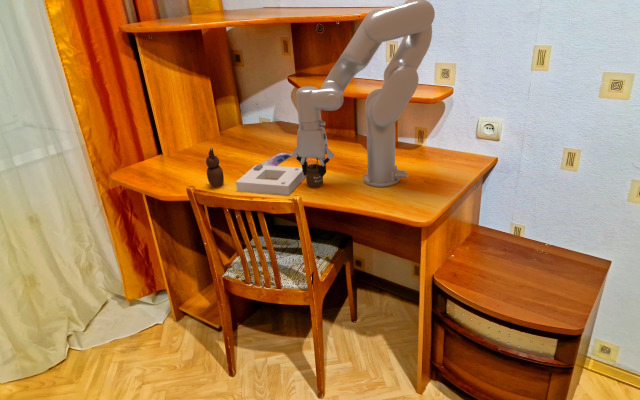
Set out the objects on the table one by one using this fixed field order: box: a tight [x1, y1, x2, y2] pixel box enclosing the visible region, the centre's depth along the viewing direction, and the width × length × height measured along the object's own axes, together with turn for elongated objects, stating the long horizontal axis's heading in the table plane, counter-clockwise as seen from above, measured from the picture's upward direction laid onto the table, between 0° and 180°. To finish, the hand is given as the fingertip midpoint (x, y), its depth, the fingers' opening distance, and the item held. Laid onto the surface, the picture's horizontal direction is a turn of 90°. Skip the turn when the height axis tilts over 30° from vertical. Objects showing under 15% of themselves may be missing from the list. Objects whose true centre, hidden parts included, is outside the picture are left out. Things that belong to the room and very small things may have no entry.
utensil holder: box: [305, 158, 324, 189], centre depth 158 cm, size 6×6×12 cm
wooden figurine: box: [205, 147, 225, 188], centre depth 163 cm, size 7×6×15 cm
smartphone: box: [259, 152, 294, 166], centre depth 185 cm, size 7×1×15 cm
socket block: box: [235, 164, 306, 196], centre depth 163 cm, size 20×16×4 cm
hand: (314, 174), depth 159 cm, fingers closed on utensil holder, 5 cm apart
